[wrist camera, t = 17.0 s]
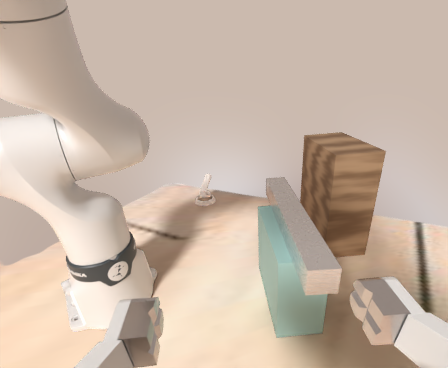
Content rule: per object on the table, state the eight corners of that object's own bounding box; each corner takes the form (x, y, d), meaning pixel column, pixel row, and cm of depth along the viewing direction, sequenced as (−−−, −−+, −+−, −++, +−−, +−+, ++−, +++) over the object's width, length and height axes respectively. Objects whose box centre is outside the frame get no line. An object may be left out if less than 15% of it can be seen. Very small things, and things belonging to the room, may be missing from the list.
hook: (224, 180, 94) (220, 177, 87) (214, 210, 92) (209, 209, 86) (207, 175, 95) (201, 171, 89) (197, 204, 94) (190, 202, 88)
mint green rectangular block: (322, 333, 42) (332, 258, 35) (276, 337, 42) (278, 263, 35) (292, 264, 58) (295, 203, 51) (259, 267, 57) (257, 206, 51)
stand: (364, 254, 59) (385, 151, 48) (323, 258, 59) (336, 155, 48) (331, 215, 75) (341, 132, 65) (299, 218, 75) (304, 135, 65)
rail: (338, 293, 30) (342, 268, 28) (305, 295, 30) (307, 270, 28) (283, 193, 55) (284, 177, 54) (266, 194, 56) (266, 178, 54)
